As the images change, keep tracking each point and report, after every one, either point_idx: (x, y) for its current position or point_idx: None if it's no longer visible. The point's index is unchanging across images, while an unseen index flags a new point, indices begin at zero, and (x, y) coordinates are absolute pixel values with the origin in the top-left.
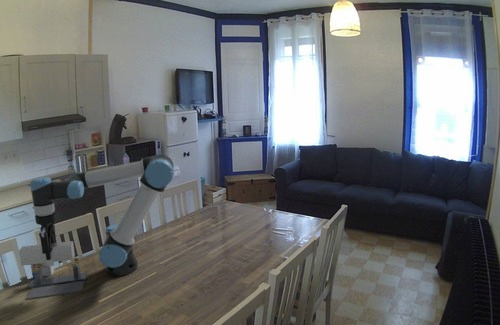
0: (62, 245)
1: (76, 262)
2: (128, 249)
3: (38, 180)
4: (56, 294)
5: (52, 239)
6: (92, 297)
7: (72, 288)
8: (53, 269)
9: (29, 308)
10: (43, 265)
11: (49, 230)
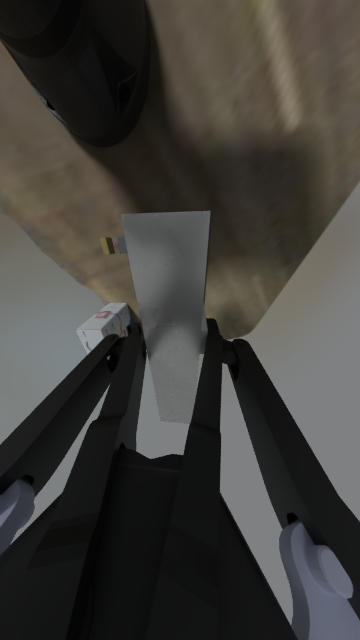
0: (196, 289)
1: (122, 243)
2: None
3: None
4: (205, 275)
5: (137, 367)
6: (257, 165)
7: None
8: (111, 304)
9: (232, 311)
10: (119, 325)
11: (217, 582)
